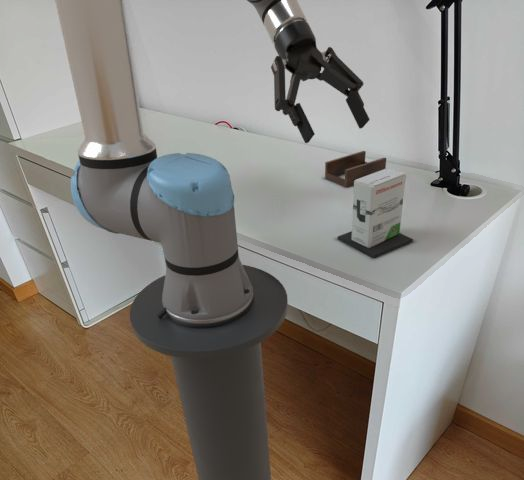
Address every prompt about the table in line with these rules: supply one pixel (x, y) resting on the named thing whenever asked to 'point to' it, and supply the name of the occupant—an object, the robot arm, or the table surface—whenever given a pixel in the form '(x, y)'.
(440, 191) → the table surface
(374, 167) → the holder
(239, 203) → the table surface
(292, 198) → the table surface
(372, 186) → the ink box
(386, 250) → the mat
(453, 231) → the table surface
